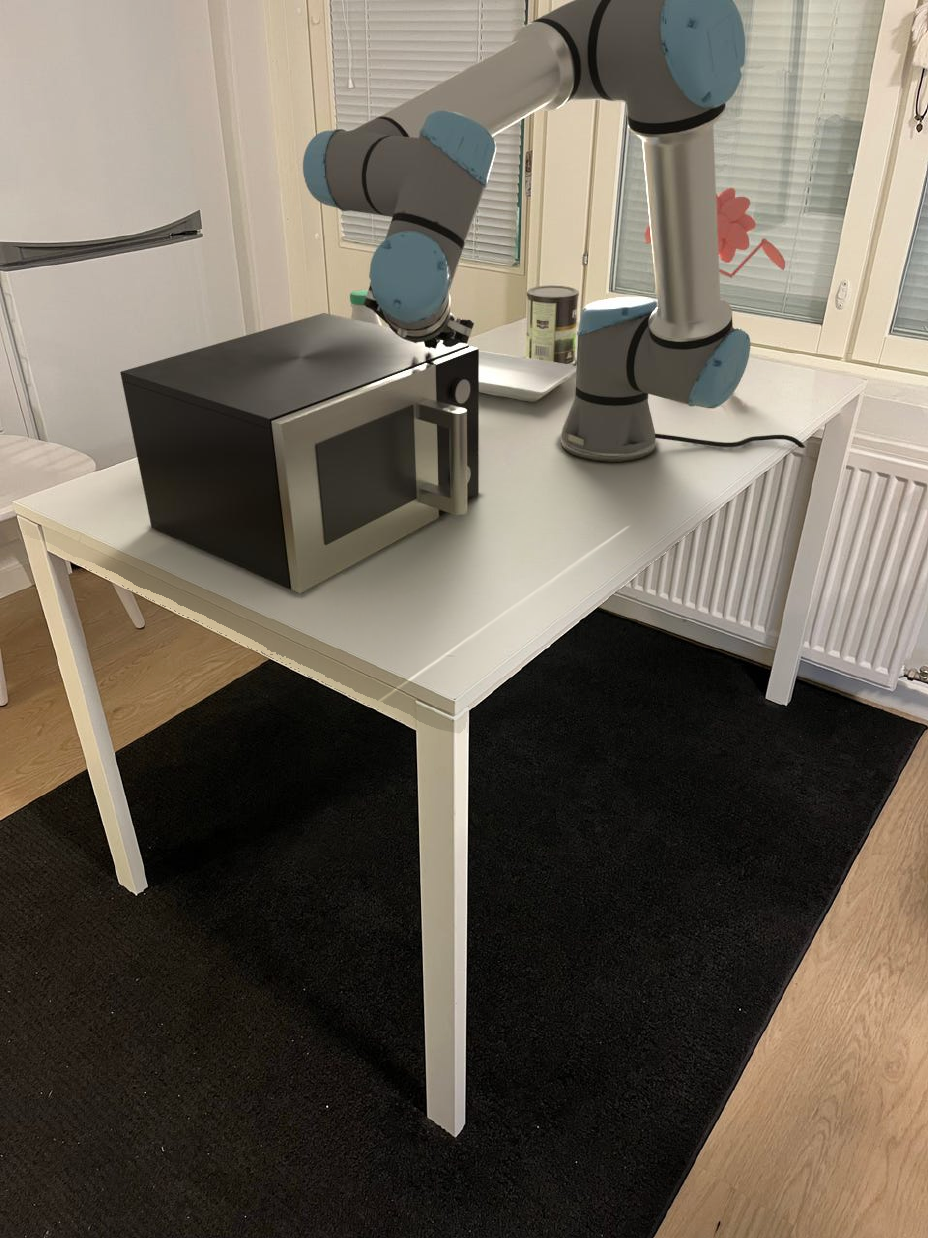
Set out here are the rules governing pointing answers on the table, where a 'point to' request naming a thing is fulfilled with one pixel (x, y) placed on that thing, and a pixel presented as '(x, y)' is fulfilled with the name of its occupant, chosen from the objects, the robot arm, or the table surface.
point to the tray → (520, 376)
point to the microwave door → (365, 472)
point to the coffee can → (552, 323)
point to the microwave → (266, 425)
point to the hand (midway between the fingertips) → (424, 335)
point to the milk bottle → (362, 308)
